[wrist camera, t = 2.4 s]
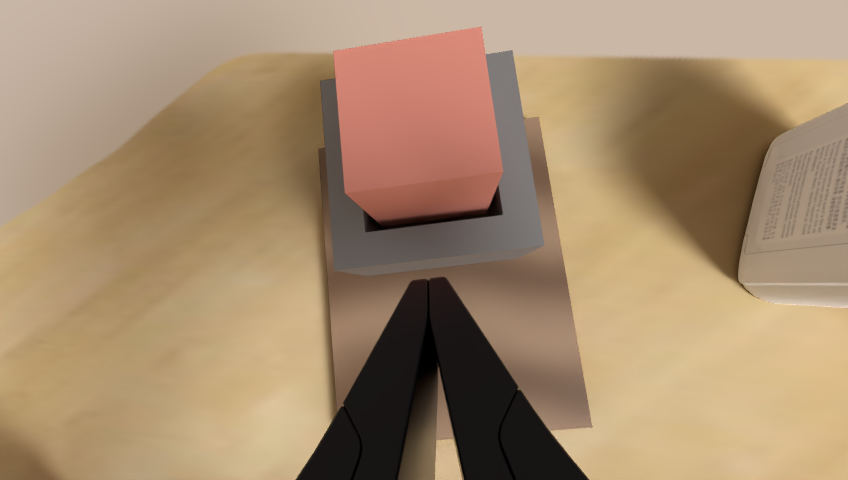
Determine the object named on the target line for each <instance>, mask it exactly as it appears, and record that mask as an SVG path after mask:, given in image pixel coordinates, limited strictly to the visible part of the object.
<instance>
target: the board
mask: <svg viewBox="0 0 848 480" xmlns="http://www.w3.org/2000/svg"><path fill="white" fill-rule="evenodd" d="M524 124H525V130H526V136H527V142H528V148H529V154H530V160H531V166H532V172H533V179H534V185H535V191H536V197H537V203H538V209H539V215H540V221H541V227H542V233H543V239H544V246H542V247H540V248H538V249H536V250H534V251H532V252H530V253H528V254H526V255H524V256H522V257H520V258H516V259H508V260H499V261H491V262H482V263H474V264H465V265H457V266H449V267H440V268H432V269H423V270H415V271H406V272H398V273H389V274H381V275H372V276H365V275H358V274H352V273H346V272H339V271H334V261H333V247H332V234H331V220H330V207H329V193H328V179H327V166H326V152H325V148H321V149H318V150H319V164H320V178H321V192H322V206H323V221H324V235H325V249H326V263H327V277H328V292H329V306H330V320H331V334H332V348H333V363H334V377H335V391H336V405H337V412H338V410H339V408H340V407H341V406H343V401H344V399H345V398H346V396H347V394H348V392H349V391H350V389H351V387H352V385H353V383H354V382H355V380H356V378H357V376H358V374H359V373H360V371H361V369H362V367H363V365H364V364H365V362H366V360H367V358H368V357H369V355H370V353H371V351H372V349H373V348H374V346H375V344H376V342H377V340H378V339H379V337H380V335H381V333H382V331H383V330H384V328H385V326H386V324H387V323H388V321H389V319H390V317H391V315H392V314H393V312H394V310H395V308H396V306H397V305H398V303H399V301H400V299H401V297H402V296H403V294H404V292H405V290H406V289H407V287H408V285H409V283H410V282H411V281H412V280H418V279H427V280H428V281H429V279H430V278H435V277H446V278H447V279H448V281H449V282H450V284H451V285H452V287H453V288H454V290H455V291H456V293H457V294H458V296H459V297H460V299H461V300H462V302H463V303H464V305H465V306H466V308H467V309H468V311H469V312H470V314H471V315H472V317H473V318H474V320H475V321H476V323H477V324H478V326H479V327H480V329H481V330H482V332H483V333H484V335H485V336H486V338H487V339H488V341H489V342H490V344H491V345H492V347H493V348H494V350H495V351H496V353H497V354H498V356H499V357H500V359H501V360H502V362H503V363H504V365H505V366H506V368H507V369H508V371H509V372H510V374H511V375H512V377H513V378H514V380H515V381H516V383H517V384H518V386H519V390H522V392H523V393H524V395H525V396H526V398H527V399H528V401H529V402H530V404H531V405H532V407H533V408H534V409H535V411H536V412H537V414H538V415H539V416H540V418H541V419H542V421H543V422H544V424H545V425H546V426H547V428H548V429H549V431H551V430H563V429H575V428H587V427H592V423H591V418H590V412H589V406H588V400H587V394H586V389H585V383H584V377H583V371H582V365H581V360H580V354H579V348H578V342H577V336H576V331H575V325H574V319H573V313H572V307H571V302H570V296H569V290H568V284H567V278H566V273H565V267H564V261H563V255H562V249H561V244H560V238H559V232H558V226H557V220H556V215H555V209H554V203H553V197H552V192H551V186H550V180H549V174H548V168H547V163H546V157H545V151H544V145H543V139H542V134H541V128H540V122H539V117H534V118H527V119H524ZM483 217H487V216H486V214H479V215H471V216H464V217H456V218H448V219H440V220H432V221H424V222H417V223H409V224H401V225H393V226H388V230H389V229H397V228H404V227H412V226H420V225H428V224H436V223H444V222H452V221H459V220H467V219H475V218H483ZM444 439H454V438H453V433H452V428H451V424H450V419H449V414H448V410H447V405H446V400H445V395H444V391H443V386H442V381H441V376H440V371H439V366H438V403H437V430H436V440H444Z"/></svg>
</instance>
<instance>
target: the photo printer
mask: <svg viewBox="0 0 848 480" xmlns="http://www.w3.org/2000/svg"><path fill="white" fill-rule="evenodd" d="M738 280H739V282H740V283H741V284H743V286H744V287H745V288H746V289H747V290H748V291H749V292H750V293H751V294H752V295H754V296H755V297H757V298H759V299H761V300H764V301H767V302H770V303H776V304H789V305H805V306H822V307H839V308H848V103H847V104H845V105H843V106H840V107H838V108H836V109H834V110H832V111H830V112H827V113H825V114H823V115H821V116H819V117H816V118H814V119H812V120H810V121H808V122H805V123H803V124H801V125H799V126H797V127H794V128H793V129H790V130H788V131H786V132H784V133H782V134H781V135H779V136H777V137H776V138H775V139H774V140H773V142H772V143H771V145H770V147H769V149H768V152H767V154H766V156H765V159H764V162H763V166H762V170H761V174H760V176H759V180H758V185H757V188H756V192H755V196H754V200H753V204H752V208H751V212H750V216H749V221H748V225H747V228H746V233H745V237H744V240H743V245H742V250H741V255H740V261H739V269H738Z"/></svg>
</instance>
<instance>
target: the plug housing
mask: <svg viewBox="0 0 848 480" xmlns="http://www.w3.org/2000/svg"><path fill="white" fill-rule="evenodd" d="M486 61H487V68H488V74H489V81H490V87H491V94H492V101H493V107H494V114H495V120H496V127H497V133H498V140H499V147H500V153H501V160H502V166H503V174H502V176H501V179H500V181H499V184H498V186H497V188H496V191H495V193H494V196H493V198H492V201H491V203H490V205H489V208H488V210H487V213H486V216H487V217H483V218H475V219H467V220H459V221H452V222H444V223H436V224H428V225H420V226H412V227H404V228H397V229H389V230H388V226H385V227H383V226H382V225H380V224H379V223H378V222H377V221H376V220H375V219H374V218H372V217H371V216H370V215H369V214H368V213H367V212H366V211H365V210H363V209H362V208H361V207H360V206H359V205H358V204H357V203H355V202H354V201H353V200H352V199H351V198H350V197H349V196H347V195H346V194H345V189H344V176H343V164H342V152H341V139H340V127H339V114H338V102H337V90H336V78H335V79H329V80H323V81H320V84H321V98H322V111H323V125H324V139H325V152H326V166H327V179H328V193H329V207H330V220H331V234H332V247H333V261H334V271H339V272H346V273H352V274H358V275H365V276H372V275H381V274H389V273H398V272H406V271H415V270H423V269H432V268H440V267H449V266H457V265H465V264H474V263H482V262H491V261H499V260H508V259H516V258H520V257H522V256H524V255H526V254H528V253H530V252H532V251H534V250H536V249H538V248H540V247H542V246H544V239H543V233H542V227H541V221H540V215H539V209H538V203H537V197H536V191H535V185H534V179H533V172H532V166H531V160H530V154H529V148H528V142H527V136H526V130H525V124H524V118H523V112H522V106H521V100H520V94H519V88H518V82H517V76H516V70H515V64H514V58H513V52H512V50H511V51H505V52H499V53H492V54H486Z"/></svg>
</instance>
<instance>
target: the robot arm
mask: <svg viewBox="0 0 848 480" xmlns="http://www.w3.org/2000/svg"><path fill="white" fill-rule="evenodd" d="M438 366H439V371H440V376H441V381H442V386H443V391H444V395H445V400H446V405H447V410H448V414H449V419H450V424H451V428H452V433H453V438H454V443H455V447H456V452H457V457H458V462H459V466H460V471H461V476H462V480H589V479H588V478H587V476H586V475H585V474H584V473H583V472H582V470H581V469H580V468H579V467H578V466H577V464H576V463H575V462H574V461H573V460H572V458H571V457H570V456H569V455H568V453H567V452H566V451H565V450H564V448H563V447H562V446H561V445H560V443H559V442H558V441H557V440H556V438H555V437H554V436H553V434H552V433H551V432H550V431H549V429H548V428H547V426H546V425H545V424H544V422H543V421H542V419H541V418H540V416H539V415H538V414H537V412H536V411H535V409H534V408H533V407H532V405H531V404H530V402H529V401H528V399H527V398H526V396H525V395H524V393H523V392H522V390H519V386H518V384H517V383H516V381H515V380H514V378H513V377H512V375H511V374H510V372H509V371H508V369H507V368H506V366H505V365H504V363H503V362H502V360H501V359H500V357H499V356H498V354H497V353H496V351H495V350H494V348H493V347H492V345H491V344H490V342H489V341H488V339H487V338H486V336H485V335H484V333H483V332H482V330H481V329H480V327H479V326H478V324H477V323H476V321H475V320H474V318H473V317H472V315H471V314H470V312H469V311H468V309H467V308H466V306H465V305H464V303H463V302H462V300H461V299H460V297H459V296H458V294H457V293H456V291H455V290H454V288H453V287H452V285H451V284H450V282H449V281H448V279H447V278H446V277H435V278H430V279H429V281H428V280H427V279H418V280H412V281H411V282H410V283H409V285H408V287H407V289H406V290H405V292H404V294H403V296H402V297H401V299H400V301H399V303H398V305H397V306H396V308H395V310H394V312H393V314H392V315H391V317H390V319H389V321H388V323H387V324H386V326H385V328H384V330H383V331H382V333H381V335H380V337H379V339H378V340H377V342H376V344H375V346H374V348H373V349H372V351H371V353H370V355H369V357H368V358H367V360H366V362H365V364H364V365H363V367H362V369H361V371H360V373H359V374H358V376H357V378H356V380H355V382H354V383H353V385H352V387H351V389H350V391H349V392H348V394H347V396H346V398H345V399H344V401H343V406H341V407H340V408H339V410H338V412H337V413H336V415H335V417H334V419H333V421H332V422H331V424H330V426H329V428H328V429H327V431H326V433H325V434H324V436H323V438H322V439H321V441H320V443H319V444H318V446H317V448H316V450H315V451H314V453H313V454H312V456H311V457H310V459H309V460H308V462H307V463H306V465H305V466H304V468H303V469H302V471H301V472H300V474H299V475H298V477H297V478H296V480H435V457H436V430H437V403H438Z"/></svg>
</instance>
